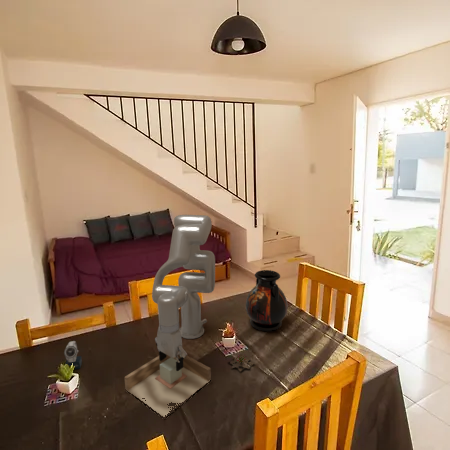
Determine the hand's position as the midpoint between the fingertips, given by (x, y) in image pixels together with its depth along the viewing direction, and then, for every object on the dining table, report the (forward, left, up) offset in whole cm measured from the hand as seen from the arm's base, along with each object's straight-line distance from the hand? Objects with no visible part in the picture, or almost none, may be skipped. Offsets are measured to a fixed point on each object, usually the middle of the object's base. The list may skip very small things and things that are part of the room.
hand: (171, 363), depth 129 cm
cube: (+1, 0, -5) cm, 5 cm away
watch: (+21, -38, -7) cm, 43 cm away
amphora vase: (-59, +7, -7) cm, 60 cm away
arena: (+4, +2, -7) cm, 8 cm away
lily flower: (-25, +16, -7) cm, 30 cm away
